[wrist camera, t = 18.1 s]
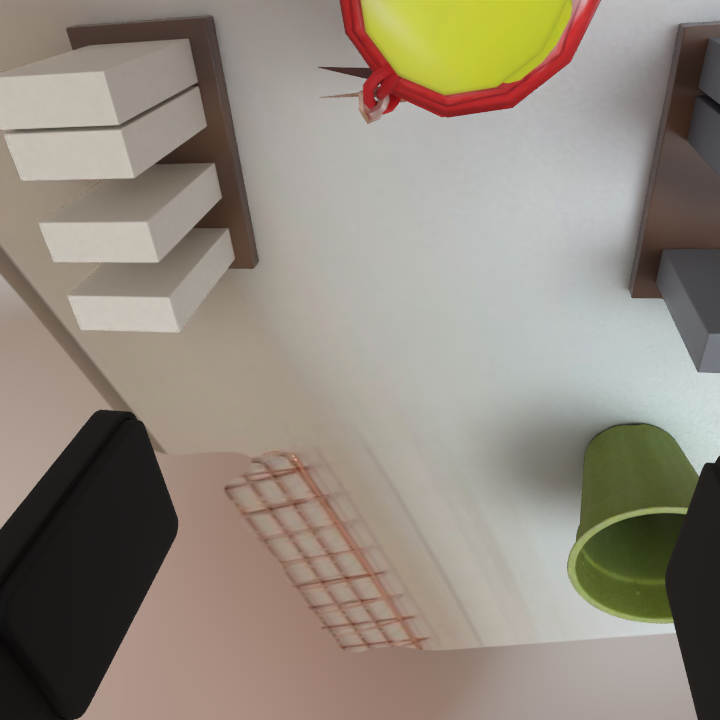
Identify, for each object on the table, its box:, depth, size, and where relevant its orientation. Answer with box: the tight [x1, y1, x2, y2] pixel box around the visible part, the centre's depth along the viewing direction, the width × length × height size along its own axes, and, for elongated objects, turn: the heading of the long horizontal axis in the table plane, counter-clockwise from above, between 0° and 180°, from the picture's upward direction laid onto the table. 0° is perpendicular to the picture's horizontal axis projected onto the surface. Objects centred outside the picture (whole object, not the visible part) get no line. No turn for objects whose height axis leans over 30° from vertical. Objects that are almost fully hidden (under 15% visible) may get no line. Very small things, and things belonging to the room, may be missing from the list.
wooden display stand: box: [0, 15, 258, 333], centre depth 37 cm, size 16×9×11 cm, turn 5°
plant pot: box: [567, 424, 699, 624], centre depth 45 cm, size 12×12×11 cm
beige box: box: [39, 163, 222, 263], centre depth 38 cm, size 2×6×10 cm, turn 94°
